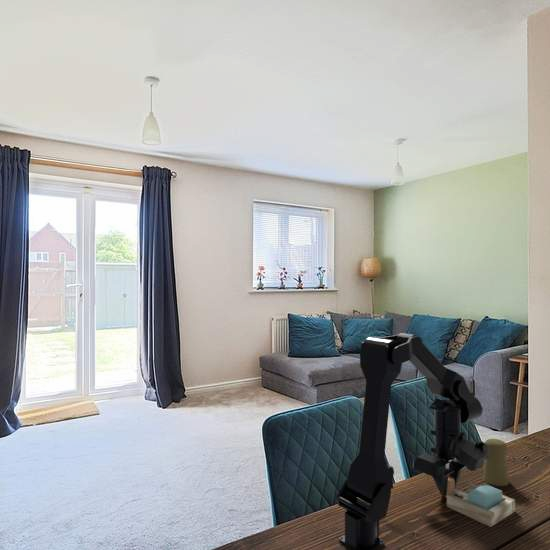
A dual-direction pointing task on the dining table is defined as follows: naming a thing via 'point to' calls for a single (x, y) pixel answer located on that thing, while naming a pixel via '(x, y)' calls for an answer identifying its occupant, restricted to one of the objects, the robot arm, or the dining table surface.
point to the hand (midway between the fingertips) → (447, 493)
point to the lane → (480, 513)
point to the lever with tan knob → (477, 494)
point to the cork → (496, 463)
